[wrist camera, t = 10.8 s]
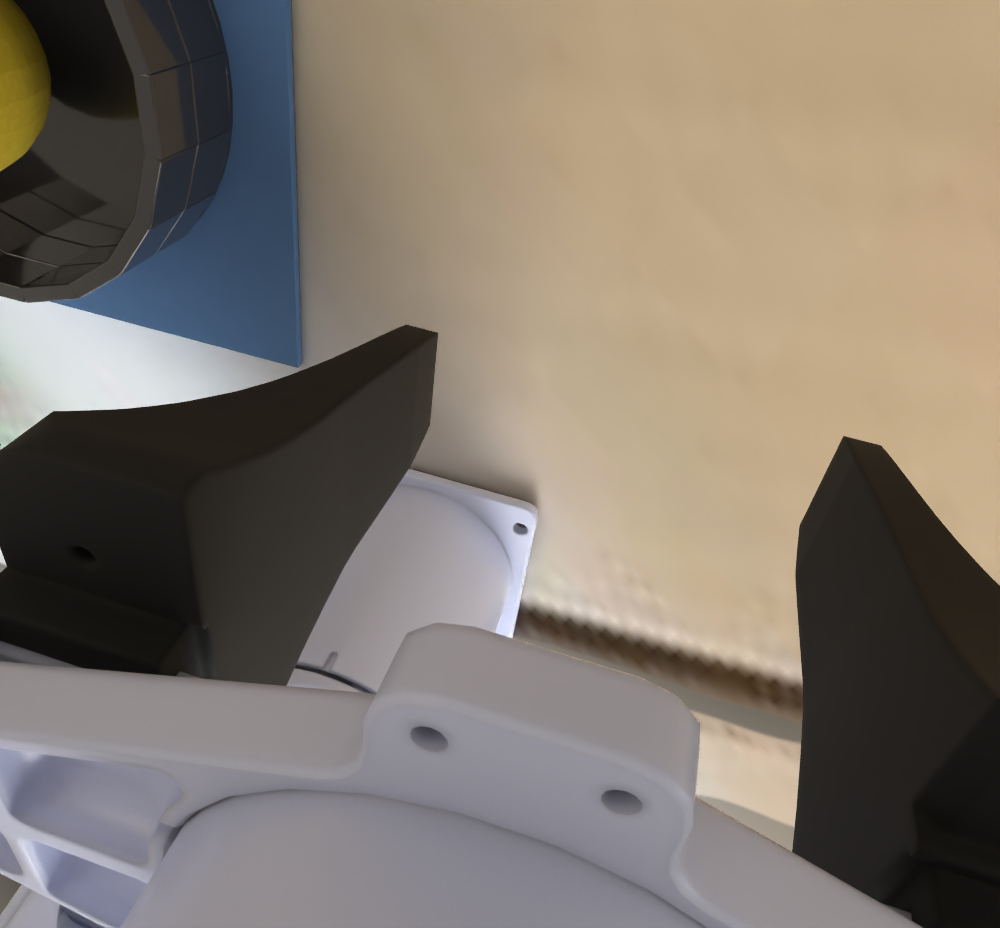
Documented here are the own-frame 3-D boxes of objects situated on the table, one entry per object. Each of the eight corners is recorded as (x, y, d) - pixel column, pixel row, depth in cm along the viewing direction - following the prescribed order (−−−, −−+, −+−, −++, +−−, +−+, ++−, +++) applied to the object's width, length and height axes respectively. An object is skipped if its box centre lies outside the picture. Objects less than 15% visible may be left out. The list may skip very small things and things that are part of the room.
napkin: (301, 363, 27) (297, 368, 27) (-100, 257, 29) (-106, 259, 29) (281, -329, 17) (275, -332, 17) (-338, -416, 19) (-352, -419, 19)
